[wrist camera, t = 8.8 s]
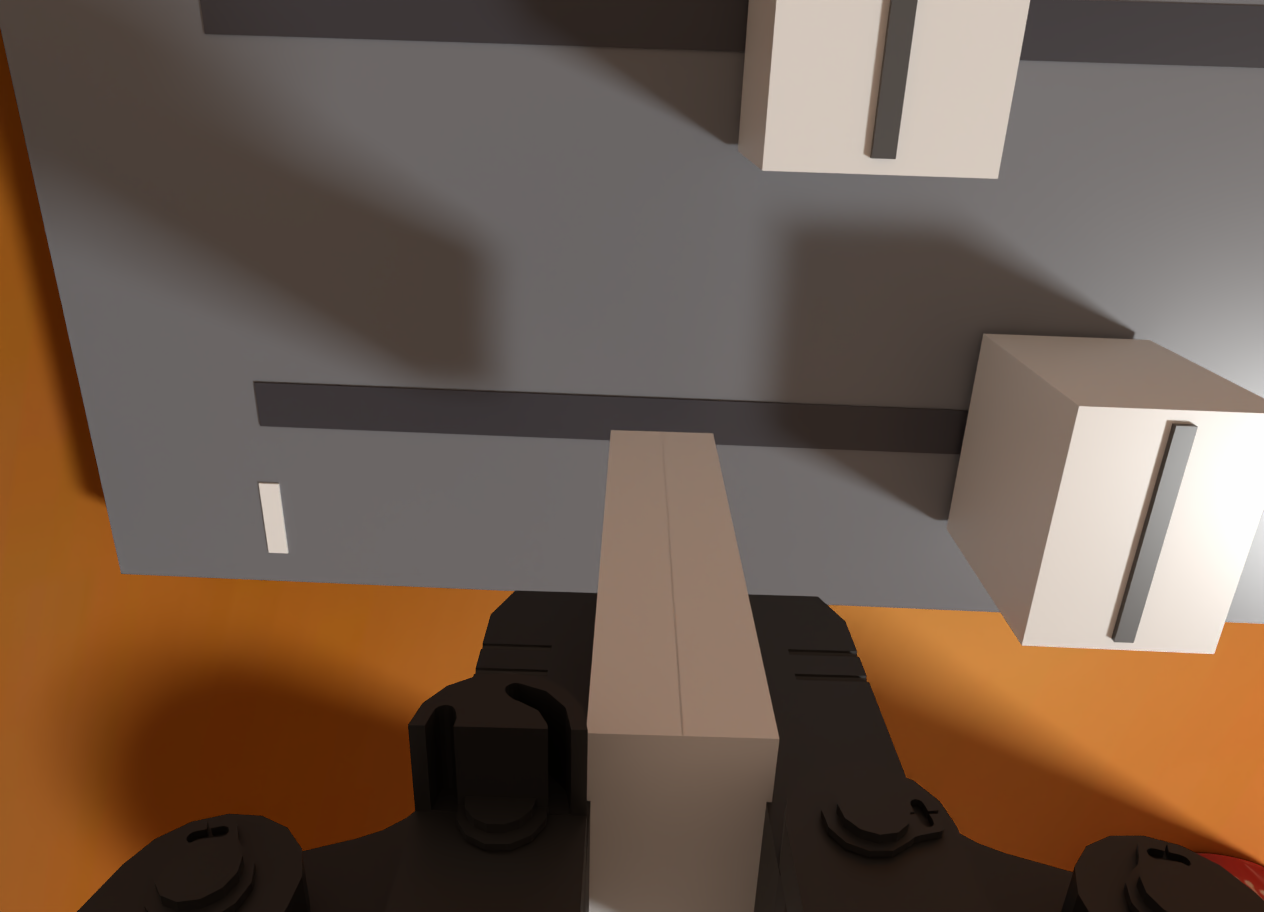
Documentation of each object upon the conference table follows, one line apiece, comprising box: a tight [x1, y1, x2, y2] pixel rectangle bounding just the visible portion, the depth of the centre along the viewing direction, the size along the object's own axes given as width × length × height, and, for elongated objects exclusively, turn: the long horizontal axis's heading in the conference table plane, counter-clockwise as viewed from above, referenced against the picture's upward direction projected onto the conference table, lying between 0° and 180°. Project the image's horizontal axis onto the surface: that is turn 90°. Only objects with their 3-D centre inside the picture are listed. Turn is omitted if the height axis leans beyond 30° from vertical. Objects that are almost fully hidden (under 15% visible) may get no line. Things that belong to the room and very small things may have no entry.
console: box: [0, 0, 1264, 624], centre depth 17 cm, size 26×15×2 cm, turn 88°
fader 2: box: [947, 334, 1264, 654], centre depth 15 cm, size 3×4×4 cm
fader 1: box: [738, 0, 1030, 179], centre depth 12 cm, size 3×4×4 cm
